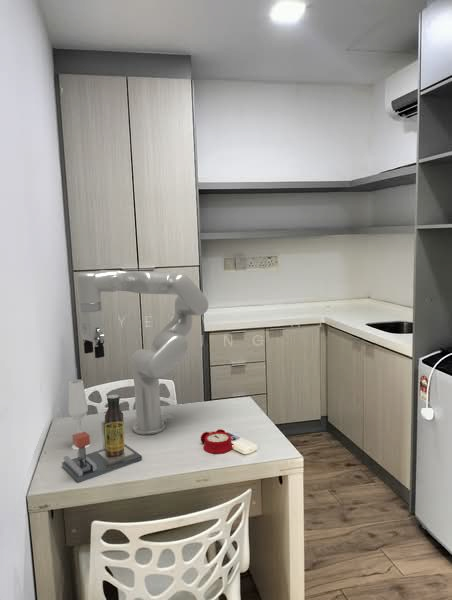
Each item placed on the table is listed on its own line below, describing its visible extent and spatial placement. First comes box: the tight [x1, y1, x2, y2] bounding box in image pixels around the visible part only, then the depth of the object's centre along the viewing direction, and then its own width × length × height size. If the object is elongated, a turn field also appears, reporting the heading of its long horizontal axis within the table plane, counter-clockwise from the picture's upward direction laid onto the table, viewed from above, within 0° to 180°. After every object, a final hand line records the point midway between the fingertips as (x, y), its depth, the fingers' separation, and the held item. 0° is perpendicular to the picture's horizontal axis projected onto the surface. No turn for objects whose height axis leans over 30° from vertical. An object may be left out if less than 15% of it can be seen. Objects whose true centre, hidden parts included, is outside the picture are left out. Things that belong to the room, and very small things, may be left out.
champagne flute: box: [68, 379, 91, 450], centre depth 169 cm, size 7×7×24 cm
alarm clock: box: [200, 429, 234, 455], centre depth 166 cm, size 10×6×15 cm
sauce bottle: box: [104, 394, 125, 456], centre depth 158 cm, size 7×6×20 cm
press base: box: [61, 420, 143, 484], centre depth 155 cm, size 22×14×12 cm, turn 128°
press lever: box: [71, 431, 91, 473], centre depth 148 cm, size 4×5×11 cm
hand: (94, 355), depth 167 cm, fingers open, 9 cm apart
